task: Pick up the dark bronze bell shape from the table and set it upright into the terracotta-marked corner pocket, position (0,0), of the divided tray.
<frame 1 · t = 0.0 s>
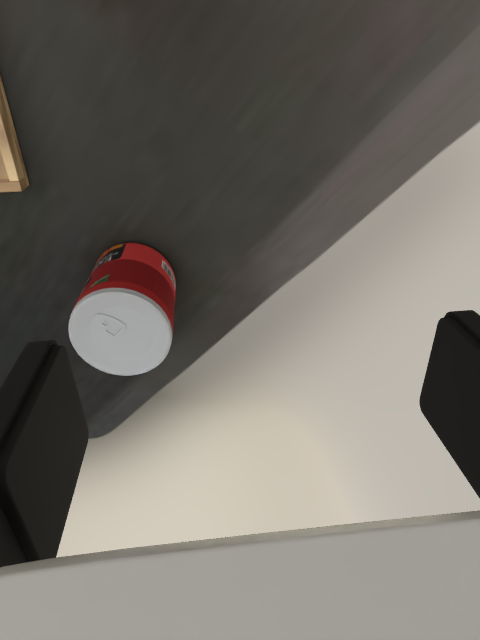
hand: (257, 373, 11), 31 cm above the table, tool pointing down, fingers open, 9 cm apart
canned food: (136, 276, 43), on the table
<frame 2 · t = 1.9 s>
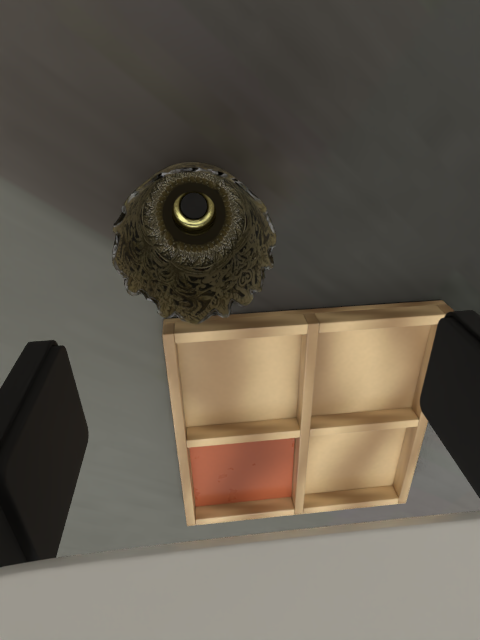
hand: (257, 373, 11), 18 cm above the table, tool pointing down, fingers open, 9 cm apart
divided tray: (299, 415, 36), on the table
dark bronze bell shape: (193, 204, 27), on the table
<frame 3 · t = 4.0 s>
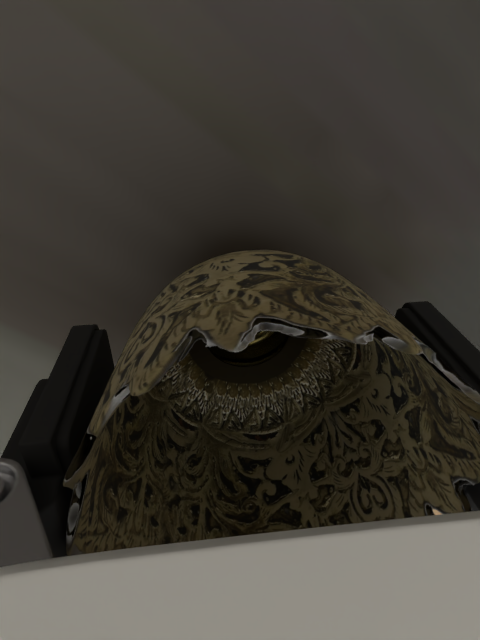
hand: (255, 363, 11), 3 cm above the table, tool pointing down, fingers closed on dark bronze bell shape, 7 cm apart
dark bronze bell shape: (240, 300, 14), on the table, touching gripper
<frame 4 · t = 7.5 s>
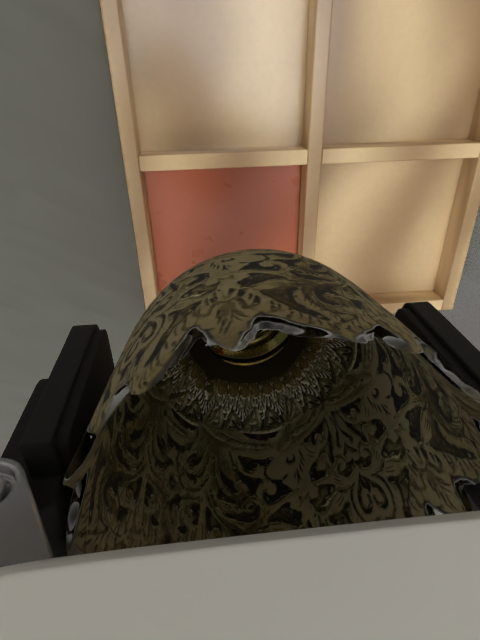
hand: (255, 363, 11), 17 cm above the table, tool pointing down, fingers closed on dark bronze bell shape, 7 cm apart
divided tray: (306, 150, 25), on the table
dark bronze bell shape: (241, 300, 14), point 14 cm above the table, touching gripper
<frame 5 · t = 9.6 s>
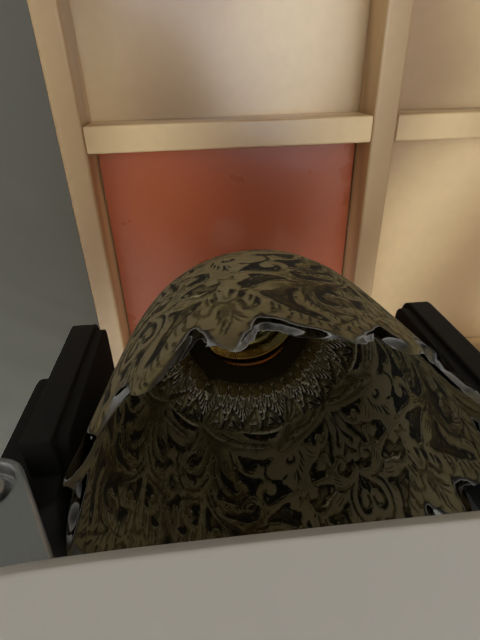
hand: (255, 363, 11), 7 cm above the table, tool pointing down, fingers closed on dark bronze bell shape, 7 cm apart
divided tray: (362, 121, 16), on the table
dark bronze bell shape: (241, 300, 14), point 4 cm above the table, touching gripper
when the fingers open (4 cm above the table, at t = 11.0 s): dark bronze bell shape stays where it is, resting on divided tray.
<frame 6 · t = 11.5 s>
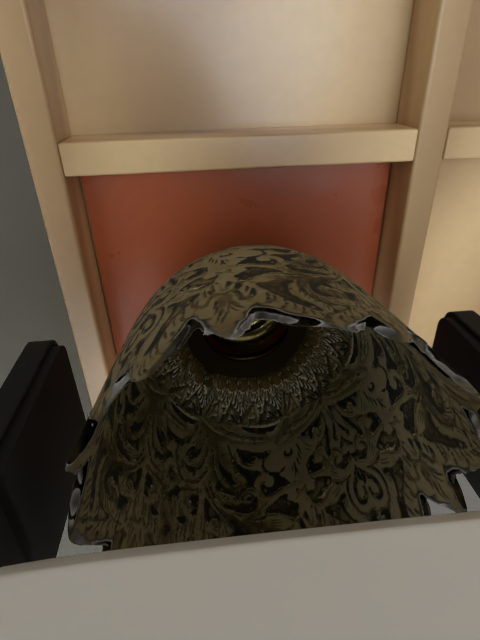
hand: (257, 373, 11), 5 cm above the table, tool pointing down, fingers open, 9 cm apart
divided tray: (398, 134, 13), on the table
dark bronze bell shape: (240, 296, 15), point 1 cm above the table, touching divided tray
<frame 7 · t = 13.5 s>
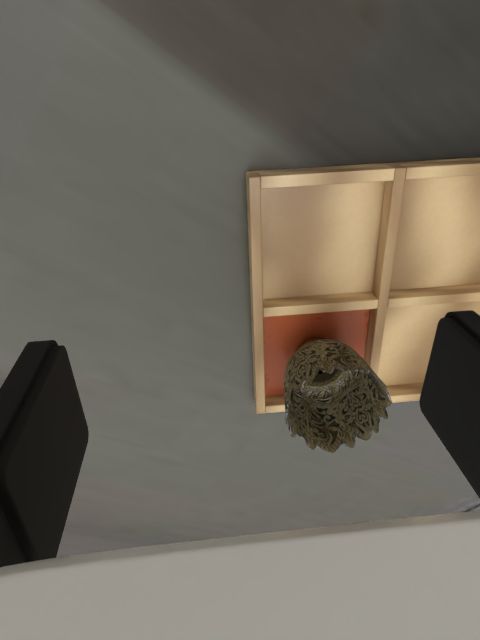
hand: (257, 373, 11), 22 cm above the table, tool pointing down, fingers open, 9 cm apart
divided tray: (373, 292, 36), on the table
dark bronze bell shape: (313, 350, 37), point 1 cm above the table, touching divided tray
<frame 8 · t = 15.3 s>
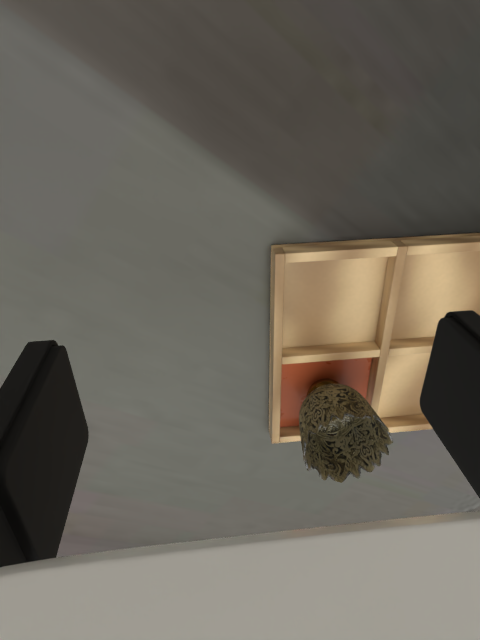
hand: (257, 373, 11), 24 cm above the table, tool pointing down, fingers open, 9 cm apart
divided tray: (375, 340, 41), on the table
dark bronze bell shape: (322, 388, 43), point 1 cm above the table, touching divided tray
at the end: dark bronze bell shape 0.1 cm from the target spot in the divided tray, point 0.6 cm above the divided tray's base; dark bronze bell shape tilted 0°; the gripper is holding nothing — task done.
